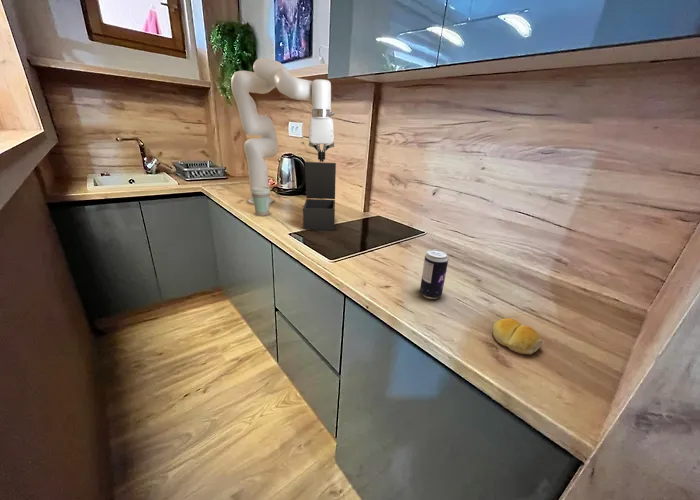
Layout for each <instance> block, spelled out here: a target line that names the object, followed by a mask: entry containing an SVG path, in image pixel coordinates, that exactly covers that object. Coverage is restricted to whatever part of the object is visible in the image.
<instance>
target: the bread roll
mask: <svg viewBox="0 0 700 500" xmlns="http://www.w3.org/2000/svg"><path fill="white" fill-rule="evenodd" d="M492 335H493V338H494V339H495V341H497V343H499V344H500V345H502V346H503V347H507V348H508V349H509V350H511V352H515V353H518V354H522V355H532V354H534V353H535V352H537V351H538V350H539V349H540V348H541V346H542V345H543V340H542V337H541V335H540V334H539V333H538V331H536V329H534V328H533V327H531V326H528V325H522V323H520V322H519V321H518V320H517V319H514V318H509V317H507V318H502V319H499V320H497V321H495V323H494V324H493V327H492Z"/></svg>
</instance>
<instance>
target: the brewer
mask: <svg viewBox="0 0 700 500" xmlns="http://www.w3.org/2000/svg"><path fill="white" fill-rule="evenodd" d="M335 217H336V199H313V198H306V199H305V202H304V205H303V207H302V229H303V230H312V231H313V230H315V231H335V223H336V222H335V221H336V220H335V219H336V218H335Z"/></svg>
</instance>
